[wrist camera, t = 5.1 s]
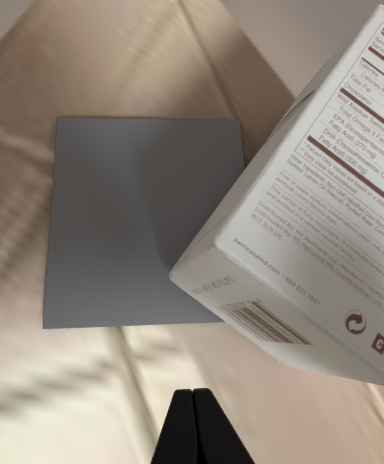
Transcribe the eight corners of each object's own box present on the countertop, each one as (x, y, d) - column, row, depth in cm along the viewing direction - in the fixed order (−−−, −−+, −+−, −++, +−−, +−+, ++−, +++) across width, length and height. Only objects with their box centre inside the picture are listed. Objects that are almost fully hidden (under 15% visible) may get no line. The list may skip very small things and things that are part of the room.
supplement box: (162, 277, 17) (289, 105, 21) (288, 372, 17) (387, 182, 22) (205, 237, 10) (379, -5, 14) (416, 397, 10) (523, 110, 15)
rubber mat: (254, 320, 18) (258, 319, 17) (46, 328, 17) (42, 328, 17) (237, 126, 21) (239, 119, 21) (60, 124, 20) (57, 117, 20)
